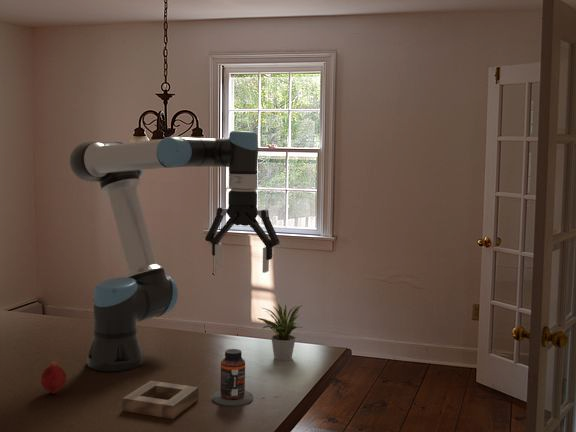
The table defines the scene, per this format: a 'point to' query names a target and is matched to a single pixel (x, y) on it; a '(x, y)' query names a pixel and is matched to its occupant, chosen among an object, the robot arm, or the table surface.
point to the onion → (53, 378)
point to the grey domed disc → (228, 402)
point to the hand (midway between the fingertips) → (241, 269)
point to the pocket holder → (149, 405)
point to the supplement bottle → (232, 375)
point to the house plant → (282, 333)
